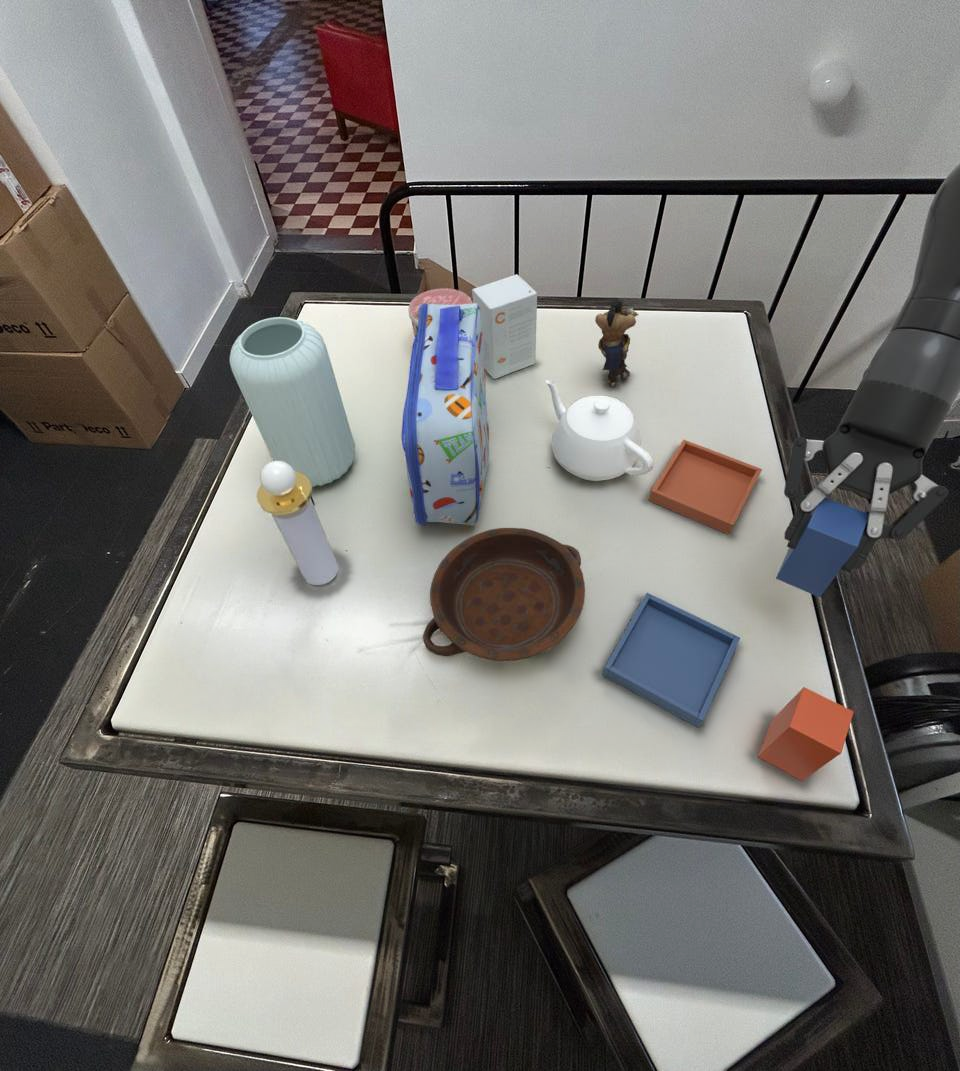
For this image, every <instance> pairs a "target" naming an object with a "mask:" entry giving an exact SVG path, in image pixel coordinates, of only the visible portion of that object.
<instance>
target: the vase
mask: <svg viewBox="0 0 960 1071" xmlns="http://www.w3.org/2000/svg"><path fill="white" fill-rule="evenodd" d="M229 365H230V369H231V373H232V374H233V377H234V379H235V381H236V383H237V385H238V387H239V389H240V392H241V394H242V396H243V398H244V401H245V403H246V405H247V407H248V409H249V412H250V414H251V416H252V418H253V420H254V422H255V425H256V426H257V429H258V431H259V433H260V435H261V437H262V440H263V442H264V444H265V447H266V449H267V451H268V453H269V455H270V457H271V460H272V461H283V462H286V463H287V464H289V465H290V466H291V467H292V468H293V469H294V471H296V472H300V473H302V474H304V475H305V476H306V477H308V479H309V480H310V483H311V485H312V488H314V487H316V486H320V487H322V486H324V485H326V484H331V483H333V481H335V480H338V479H340V478H341V477H342V475H344V474H346V473H347V472H348V470H349V468H350V467H351V466H352V464H353V463H354V459H355V457H356V444H355V440H354V437H353V434H352V429H351V426H350V423H349V420H348V416H347V412H346V410H345V405H344V402H343V400H342V399H343V398H342V396H341V392H340V388H339V385H338V382H337V378H336V375H335V372H334V368H333V365H332V362H331V358H330V355H329V352H328V347H327V344H326V342H325V340H324V338H323V336H322V334H321V333H320V332H319V331H318V330H316V328H314V327H313V326H312V325H310V324H309V323H306V322H304V321H302V320H299V319H294V318H291V317H285V316H284V317H283V316H276V317H275V316H273V317H269V318H268V317H267V318H265V319H261V320H258V321H257V322H255V323H252V324H251V325H249V326H248V327H247V328H246V329H244V330H243V332H242V333H241V334H239V335H238V336H237V338H236V339H235V341H234V343H233V344H232V346H231V349H230V355H229Z"/></svg>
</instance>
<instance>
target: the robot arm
mask: <svg viewBox="0 0 960 1071" xmlns="http://www.w3.org/2000/svg"><path fill="white" fill-rule="evenodd" d="M959 394H960V163H959V164H957V165H956V166H955V167H954V168H953V170H952V171H951V172H950V173H949V174H948V175H947V176H946V178H945V179H944V180H943V182H942V183H941V184H940V186H939V188H938V189H937V191H936V193H935V195H934V197H933V199H932V202H931V204H930V207H929V209H928V212H927V216H926V220H925V224H924V227H923V233H922V236H921V243H920V247H919V253H918V256H917V261H916V265H915V269H914V275H913V280H912V286H911V289H910V291H909V293H908V295H907V297H906V299H905V301H904V303H903V304H902V307H901V309H900V311H899V313H898V314H897V317H896V318H895V320H894V323H893V324H892V326H891V329H890V331H889V332H888V334H887V336H886V337H885V338H884V340H883V341H882V343H881V344H880V346H879V347H878V349H877V351H876V352H875V353H874V355H873V357H872V359H871V361H870V363H869V364H868V367H867V368H866V369H865V370H864V371H863V374H862V378H861V380H860V382H859V384H858V386H857V388H856V390H855V392H854V394H853V396H852V398H851V400H850V401H849V404H848V406H847V408H846V410H845V412H844V413H843V416H842V417H841V420H840V421H839V423H838V425H837V428H836V429H835V431H834V432H833V433H832V434H831V435H829V436H827V437H826V438H825V440H820V439H819V440H818V439H806V438H805V437H804V436H798V437H796V438H794V440H793V441H792V443H791V449H790V455H789V461H788V466H787V471H786V472H787V473H786V479H785V484H784V490H783V494H784V496H785V497H786V498H787V499H788V500H789V501H790V502H792V503H793V504H794V506H795V511H794V514H793V516H792V517H791V520H790V522H789V524H788V526H787V528H786V530H785V532H784V540H786V541H787V543H786V547H787V548H788V549H789V548H791V549H795V548H796V546H797V544H798V541H799V539H800V537H801V535H802V533H803V531H804V529H805V527H806V526H807V524H808V522H809V520H810V518H811V516H812V515H810V514H811V512H812V510H813V509H814V508H815V507H816V506H817V505H818V504H819V503H820V502H821V501H822V500H823V499H824V498H827V496H829V495H830V494H831V493H832V492H833V491H834V490H835V489H838V490H841V491H848V492H853V493H854V494H855V495H857V496H858V497H860V498H863V499H865V500H866V501H865V513H868V514H869V515H868V521H867V523H866V526H865V529H864V532H863V535H862V537H861V540H860V543H859V546H858V548H857V549H856V550H855V552H854V553H853V554H852V555H851V557H850V558H849V559H848V561H847V562H846V563H845V564H844V566H843V567H842V568H841V570H842V571H844V572H846V573H851V571H852V569H853V568H854V569H856V570H858V569H860V568H861V567H862V566H863V565H864V564H865V562H866V560H867V557H868V556H869V554H870V553H871V550H872V549H873V548H874V545H875V543H876V542H877V541H878V540H880V539H892V540H897V541H898V540H904V539H905V538H906V537H907V536H908V535H909V534H910V533H911V532H912V531H913V530H915V528H916V527H917V526H918V525H919V524H921V522H922V521H923V520H924V519H926V517H928V516H929V515H930V514H931V513H932V512H933V511H934V510H935V509H936V508H937V507H938V506H939V505H940V504H941V503H942V502H943V501H944V500H945V499H947V497H948V496H949V494H950V492H949V489H948V488H947V487H946V486H945V485H938V484H937V483H935V482H934V481H933V480H931V479H929V478H928V477H926V476H925V475H924V474H923V462H924V461H923V460H924V457H925V455H926V454H927V453H928V450H929V448H930V447H931V444H932V443H933V441H934V439H935V437H936V435H937V433H938V432H939V430H940V428H941V427H942V425H943V423H944V421H945V420H946V417H947V416H948V413H949V412H950V410H951V409H952V407H953V404H954V403H955V401H956V399H957V397H958V396H959ZM817 452H821V453H822V457H823V462H824V466H825V471H826V476H824V477H823V478H822V479H821V481H819V483H817V484H816V485H815V486H814V488H812V490H811V491H809V493H807V494H805V493H803V492H802V491H801V490H800V489H801V488H800V487H801V482H802V475H803V469H804V464H805V462H810V461H812V460H813V458H815V455H816V453H817ZM911 484H913V486H914V490H913V491H912V493H911V499H912V500H913V501H914V502H912V504H910V505H909V506H908V507H907V508H906V509H905V511H903V512H902V513H901V514H900V515H899V516H898V517H897V518H896V519H895V520H894V521H893V522H892V523H891V524H884V522H885V515H886V512H887V509H888V501H889V496H890V495H891V494H893V493H896V492H897V491H899V490H901V489H903V488H905V487H907V486H909V485H911ZM841 570H840V571H841Z"/></svg>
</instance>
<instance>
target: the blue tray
mask: <svg viewBox="0 0 960 1071" xmlns="http://www.w3.org/2000/svg"><path fill="white" fill-rule="evenodd" d="M740 639H741V637H740V636H738V635H736V634H735V633H732V632H730V631H728V630H725V629H724V628H721V627H719V626H717V625H715V624H713V623H712V622H709V621H707V620H706V619H702V618H701V617H699V616H696V615H695V614H693V613H691V612H688V611H687V610H684V609H682V608H680V607H678V606H676V605H674V604H672V603H670V602H668V601H666V600H663V599H662V598H660V597H657V596H656V595H652V594H651V593H649V592H646V593H645V595H644V596H643V598H642V600H641V602H640V603H639V605H638V607H637V609H636V611H635V612H634V614H633V615H632V618H631V620H630V621H629V623H628V625H627V627H626V628H625V630H624V632H623V633H622V635H621V637H620V639H619V640H618V642H617V643H616V646H615V647H614V649H613V651H612V653H611V655H610V657H609V658H608V660H607V662H606V663H605V665H604V668H603V670H602V676H604V677H606V678H607V679H609V680H611V681H612V682H614V683H616V684H618V685H620V686H621V687H624V688H625V689H626V690H627V689H628V690H629V691H631V692H633V693H634V694H637V695H638V696H640V697H642V698H643V699H645V700H647V701H649V702H651V703H653V704H654V705H656V706H658V707H660V708H662V709H664V710H666V711H667V712H669V713H671V714H673V715H674V716H676V717H678V718H680V719H681V720H683V721H686V722H687V723H689V724H691V725H693V726H695V727H696V728H699V727H700V726H701V725H702V723H703V722H704V720H705V718H706V715H707V714H708V711H709V709H710V707H711V705H712V702H713V701H714V698H715V695H716V693H717V691H718V689H719V686H720V685H721V683H722V680H723V677H724V675H725V673H726V672H727V669H728V666H729V664H730V662H731V660H732V657H733V655H734V652H735V650H736V648H737V647H738V644H739V641H740Z"/></svg>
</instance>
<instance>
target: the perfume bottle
mask: <svg viewBox="0 0 960 1071" xmlns="http://www.w3.org/2000/svg"><path fill="white" fill-rule="evenodd" d="M260 470H261V471H260V473H259V483H260V485H259V487H258V489H257V492H256V499H257V502H258V504H259V506H260V508H261V509H262V510H263V511H264V512H265V513H268V514H270V515H271V517H272V519H273V521H274V522H275V524H276V526H277V529H278V531H279V532H280V534H281V536H282V538H283V540H284V542H285V544H286V545H287V548H288V550H289V552H290V554H291V556H292V558H293V560H294V562H295V564H296V566H297V568H298V569H299V572H300V574H301V576H302V577H303V579H304V581H305V582H306V583H308V584H310V585H312V586H323V585H326V584H327V583H329V582H331V581H333V579H334V578H335V577H336V576H337V575H338V571H339V563H338V560H337V558H336V556H335V553H334V551H333V548H332V546H331V544H330V540H329V539H328V536H327V535H326V534H327V533H326V532H325V529H324V527H323V524H322V522H321V519H320V517H319V515H318V512H317V510H316V507H315V506H316V503H315V502H314V499H313V487H312V485H311V483H310V480H309V479H308V477H306V476H305V475H304V474H302V473H300V472H296V471H294V469H293V468H292V467H291V466H290V465H289V464H287V463H286V462H283V461H273V460H272V461H270V462H268V463H266V464H265V465H264V466H263V467H262V468H261V469H260Z"/></svg>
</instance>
